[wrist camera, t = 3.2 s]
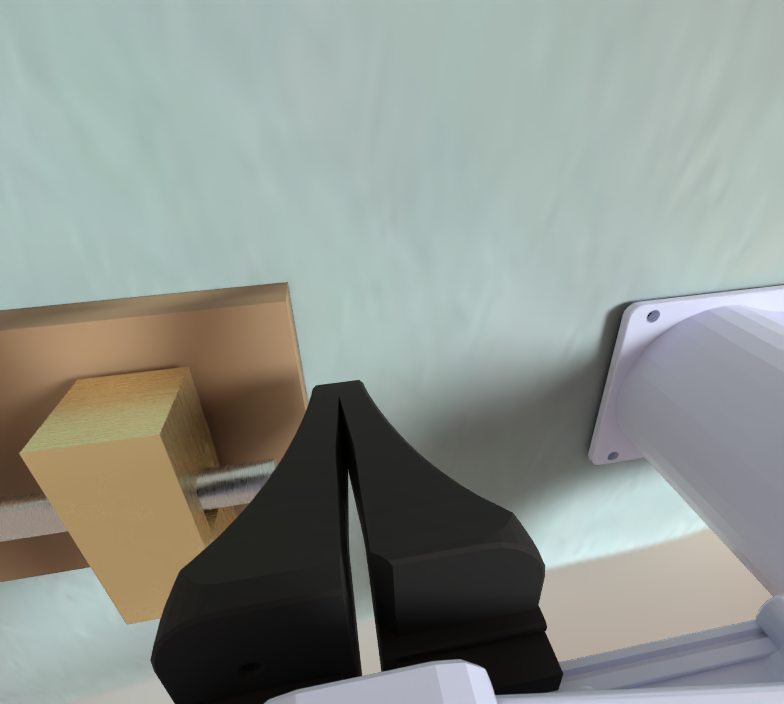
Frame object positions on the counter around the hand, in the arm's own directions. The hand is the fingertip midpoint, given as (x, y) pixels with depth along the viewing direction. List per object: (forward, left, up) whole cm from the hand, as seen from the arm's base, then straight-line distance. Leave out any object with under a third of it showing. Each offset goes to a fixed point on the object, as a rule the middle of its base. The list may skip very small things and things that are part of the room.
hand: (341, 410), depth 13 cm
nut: (+6, +2, -1) cm, 6 cm away
